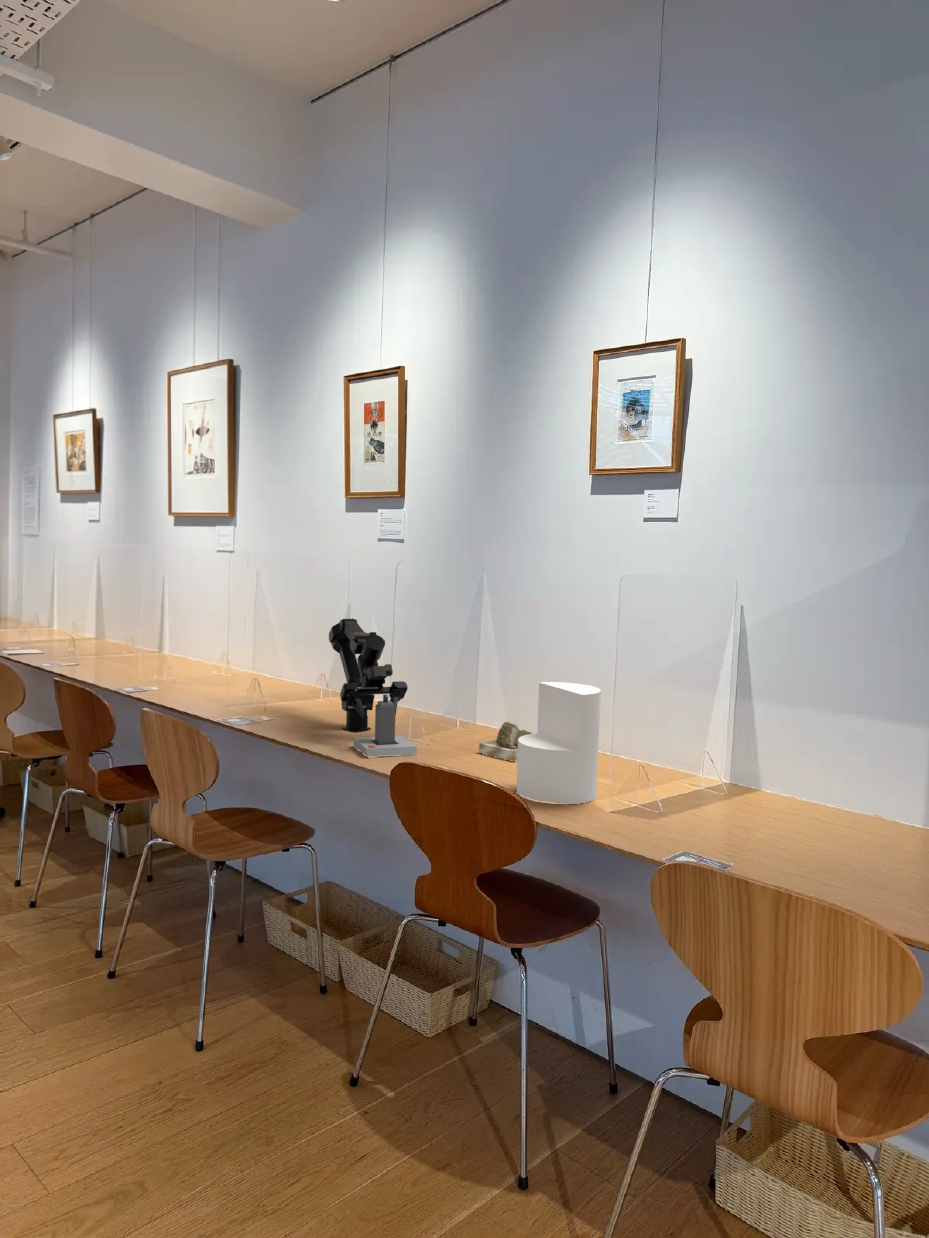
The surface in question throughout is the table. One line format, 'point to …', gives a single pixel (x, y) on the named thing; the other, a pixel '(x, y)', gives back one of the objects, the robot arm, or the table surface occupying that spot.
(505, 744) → the toy
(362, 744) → the socket
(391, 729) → the plug
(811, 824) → the table surface
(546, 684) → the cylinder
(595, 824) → the table surface
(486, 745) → the tray
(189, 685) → the table surface
